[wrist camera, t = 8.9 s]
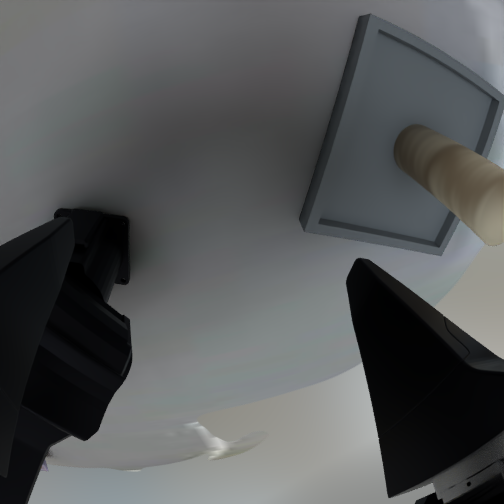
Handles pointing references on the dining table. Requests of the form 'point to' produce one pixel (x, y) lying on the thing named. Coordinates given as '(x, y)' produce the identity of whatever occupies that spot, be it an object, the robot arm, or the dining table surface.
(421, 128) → the dowel pin
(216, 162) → the dining table surface
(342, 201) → the charcoal tray
